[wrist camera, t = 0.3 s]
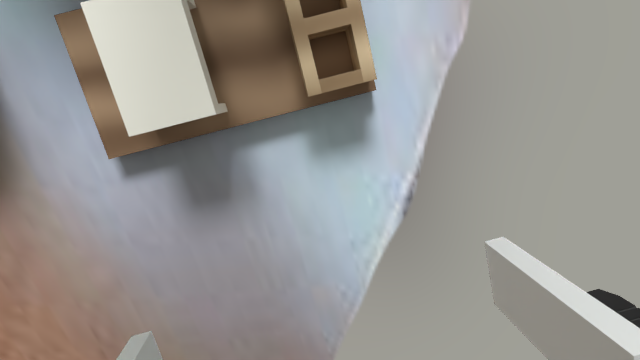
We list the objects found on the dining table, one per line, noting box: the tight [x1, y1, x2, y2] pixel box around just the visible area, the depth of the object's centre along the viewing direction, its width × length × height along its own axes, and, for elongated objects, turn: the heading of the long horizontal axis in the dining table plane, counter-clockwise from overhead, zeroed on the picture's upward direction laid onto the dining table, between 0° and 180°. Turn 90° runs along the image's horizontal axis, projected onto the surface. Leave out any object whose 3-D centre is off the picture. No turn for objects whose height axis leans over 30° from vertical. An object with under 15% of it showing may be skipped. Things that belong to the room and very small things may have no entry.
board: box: [54, 0, 377, 159], centre depth 34 cm, size 13×26×6 cm, turn 105°
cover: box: [80, 0, 228, 137], centre depth 32 cm, size 10×7×6 cm
